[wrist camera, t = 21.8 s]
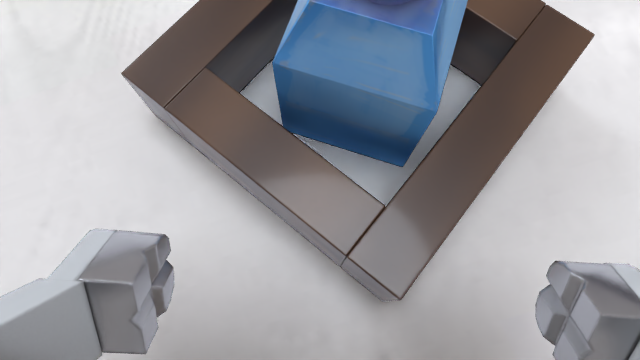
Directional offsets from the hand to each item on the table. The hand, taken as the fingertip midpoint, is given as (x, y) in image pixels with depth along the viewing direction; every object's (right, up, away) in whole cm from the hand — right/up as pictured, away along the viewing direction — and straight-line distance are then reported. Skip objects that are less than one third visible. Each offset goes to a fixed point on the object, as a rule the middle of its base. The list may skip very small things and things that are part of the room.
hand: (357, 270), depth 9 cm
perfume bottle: (+1, +6, +13) cm, 15 cm away
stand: (+1, +6, +13) cm, 14 cm away
